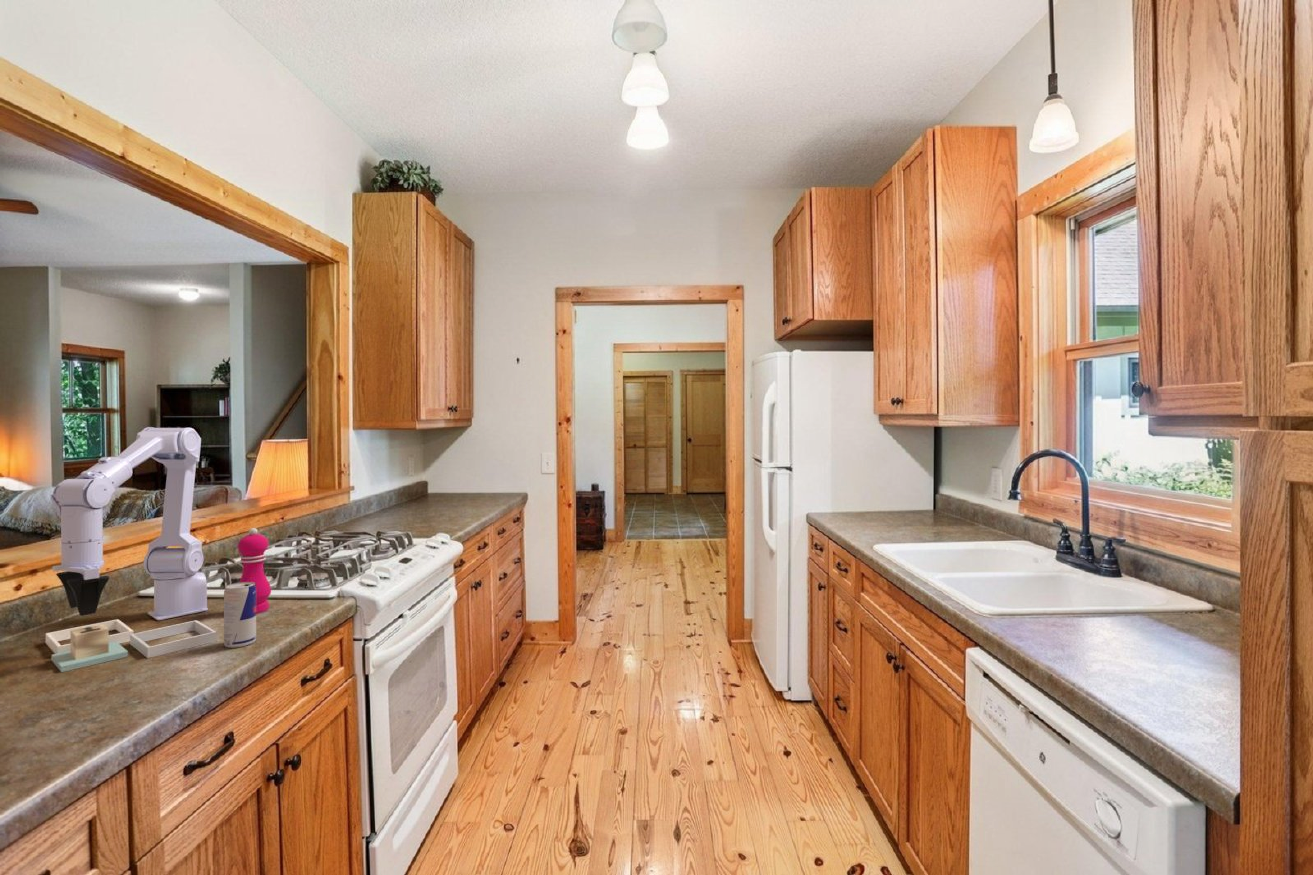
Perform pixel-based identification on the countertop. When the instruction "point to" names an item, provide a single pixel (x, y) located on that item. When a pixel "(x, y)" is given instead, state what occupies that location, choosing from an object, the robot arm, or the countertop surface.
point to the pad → (88, 658)
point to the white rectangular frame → (151, 651)
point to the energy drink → (239, 614)
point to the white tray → (65, 634)
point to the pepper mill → (255, 566)
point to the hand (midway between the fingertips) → (82, 610)
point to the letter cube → (89, 641)
